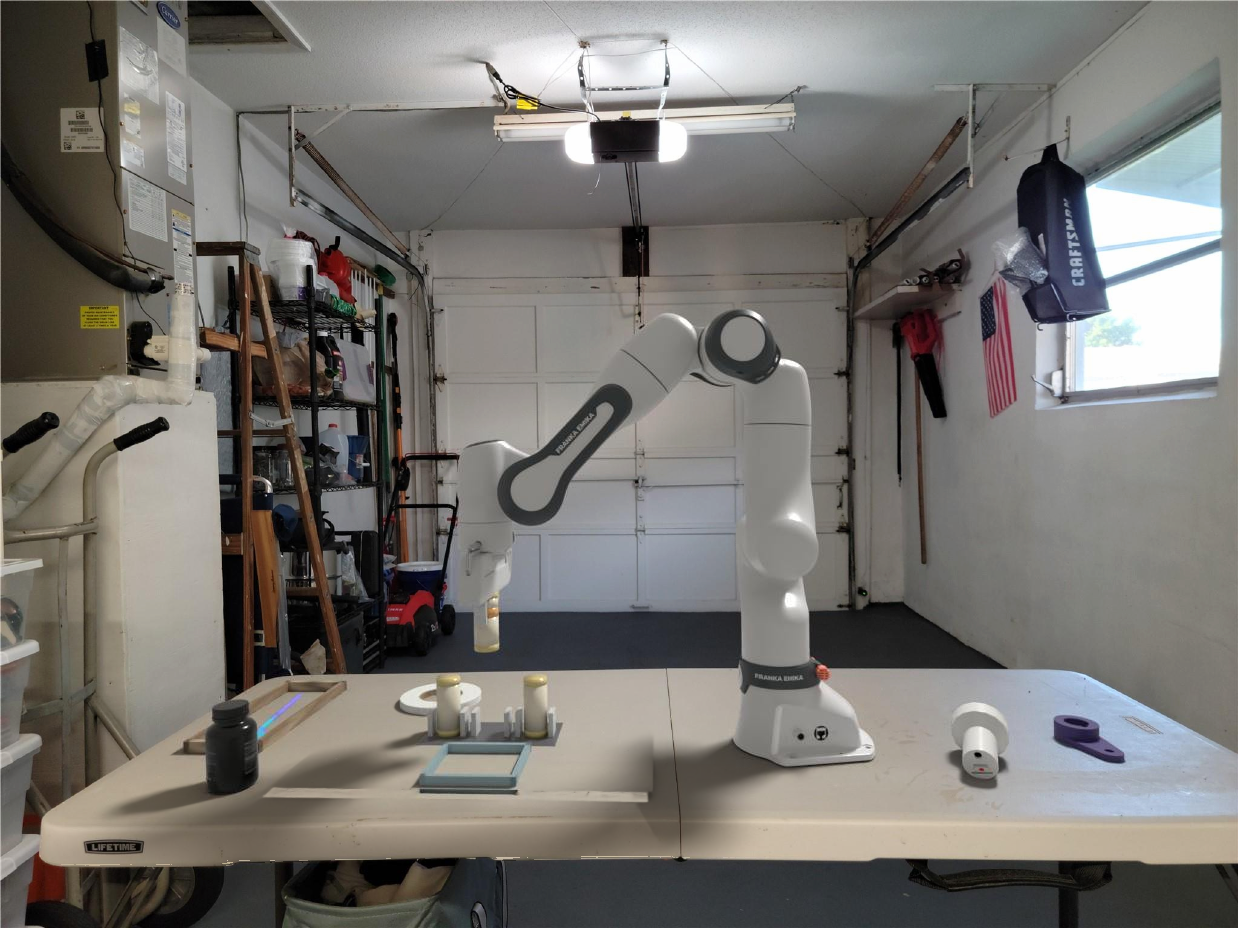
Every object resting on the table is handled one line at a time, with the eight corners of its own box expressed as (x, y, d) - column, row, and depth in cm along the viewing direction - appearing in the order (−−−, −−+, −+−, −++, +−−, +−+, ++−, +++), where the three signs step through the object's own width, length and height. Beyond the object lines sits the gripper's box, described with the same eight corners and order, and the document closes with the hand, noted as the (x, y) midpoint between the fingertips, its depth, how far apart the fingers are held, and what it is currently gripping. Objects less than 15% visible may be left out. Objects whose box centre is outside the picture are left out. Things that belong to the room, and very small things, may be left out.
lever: (1045, 734, 117) (1044, 715, 117) (1079, 732, 118) (1079, 714, 118) (1099, 765, 105) (1099, 744, 105) (1138, 763, 106) (1138, 742, 106)
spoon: (257, 746, 117) (257, 739, 117) (232, 747, 117) (232, 740, 117) (314, 697, 142) (314, 691, 142) (294, 697, 142) (294, 692, 142)
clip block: (563, 729, 122) (562, 699, 121) (554, 753, 112) (554, 721, 112) (435, 728, 123) (435, 699, 123) (416, 751, 113) (415, 720, 113)
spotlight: (1013, 746, 108) (1002, 699, 108) (1017, 791, 99) (1005, 739, 98) (957, 746, 112) (946, 700, 112) (956, 789, 103) (943, 739, 102)
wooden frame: (346, 689, 145) (346, 680, 145) (259, 753, 113) (259, 742, 113) (287, 688, 146) (286, 680, 146) (183, 752, 114) (183, 741, 114)
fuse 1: (463, 728, 119) (463, 673, 119) (457, 737, 115) (456, 681, 115) (441, 728, 120) (440, 673, 120) (433, 737, 116) (433, 681, 116)
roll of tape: (404, 698, 140) (404, 684, 140) (481, 692, 143) (481, 678, 143) (395, 726, 125) (394, 710, 125) (481, 719, 128) (480, 704, 128)
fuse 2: (549, 728, 119) (548, 674, 119) (545, 738, 115) (544, 681, 115) (526, 728, 119) (525, 673, 119) (521, 737, 115) (521, 681, 115)
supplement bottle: (247, 770, 107) (246, 693, 107) (266, 782, 103) (265, 702, 103) (198, 786, 102) (197, 705, 102) (216, 800, 97) (215, 715, 97)
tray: (531, 758, 110) (531, 742, 110) (516, 794, 98) (515, 776, 98) (445, 757, 110) (445, 741, 110) (419, 793, 98) (419, 775, 98)
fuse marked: (501, 645, 115) (500, 589, 115) (495, 652, 111) (494, 593, 111) (478, 645, 115) (477, 589, 115) (471, 652, 111) (470, 593, 111)
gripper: (487, 546, 102) (488, 638, 103) (517, 532, 123) (518, 609, 123) (446, 546, 103) (447, 638, 103) (482, 532, 123) (484, 609, 123)
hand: (486, 622), depth 113 cm, fingers closed on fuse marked, 4 cm apart
